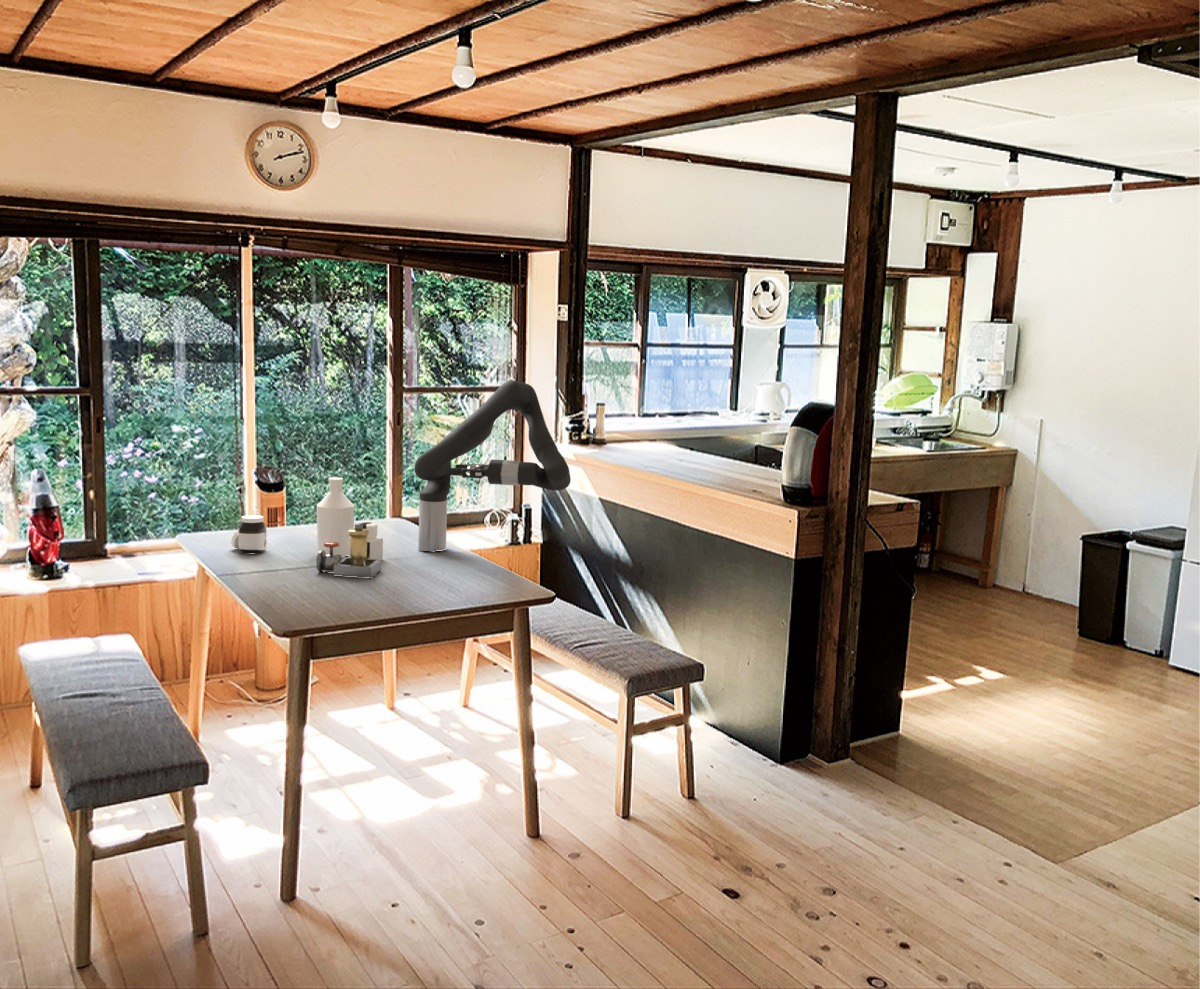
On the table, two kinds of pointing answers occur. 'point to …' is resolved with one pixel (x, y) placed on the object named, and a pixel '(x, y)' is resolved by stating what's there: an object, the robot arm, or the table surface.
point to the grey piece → (345, 564)
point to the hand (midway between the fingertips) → (452, 469)
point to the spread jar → (251, 535)
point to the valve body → (358, 545)
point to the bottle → (335, 519)
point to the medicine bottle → (373, 542)
